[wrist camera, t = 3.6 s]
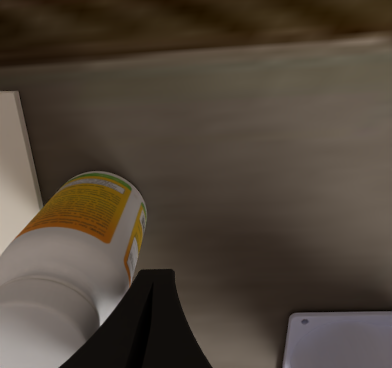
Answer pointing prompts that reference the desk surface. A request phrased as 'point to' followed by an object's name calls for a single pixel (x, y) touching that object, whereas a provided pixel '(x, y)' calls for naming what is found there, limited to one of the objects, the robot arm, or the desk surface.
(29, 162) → the sticky note pad
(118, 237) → the supplement bottle
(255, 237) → the desk surface
